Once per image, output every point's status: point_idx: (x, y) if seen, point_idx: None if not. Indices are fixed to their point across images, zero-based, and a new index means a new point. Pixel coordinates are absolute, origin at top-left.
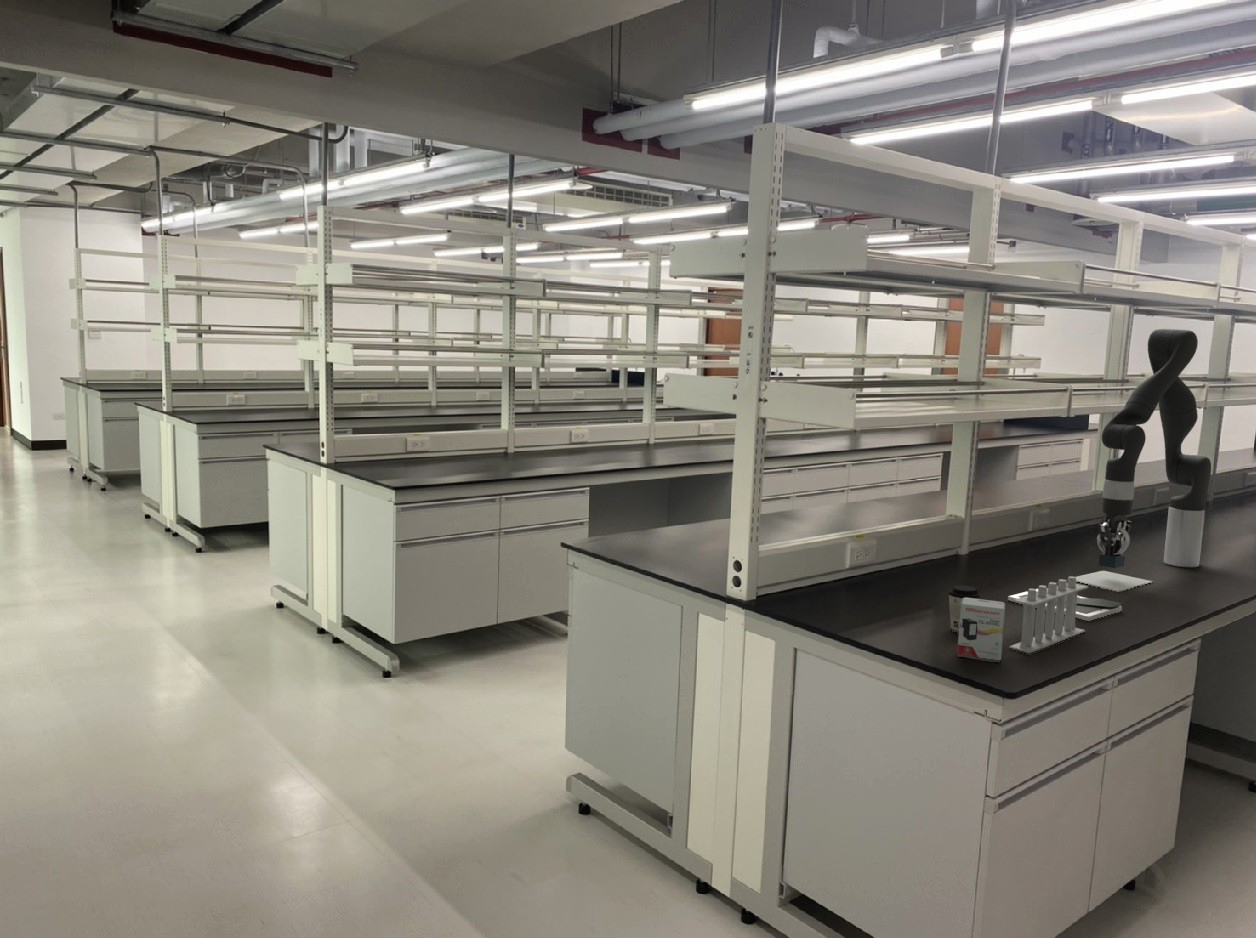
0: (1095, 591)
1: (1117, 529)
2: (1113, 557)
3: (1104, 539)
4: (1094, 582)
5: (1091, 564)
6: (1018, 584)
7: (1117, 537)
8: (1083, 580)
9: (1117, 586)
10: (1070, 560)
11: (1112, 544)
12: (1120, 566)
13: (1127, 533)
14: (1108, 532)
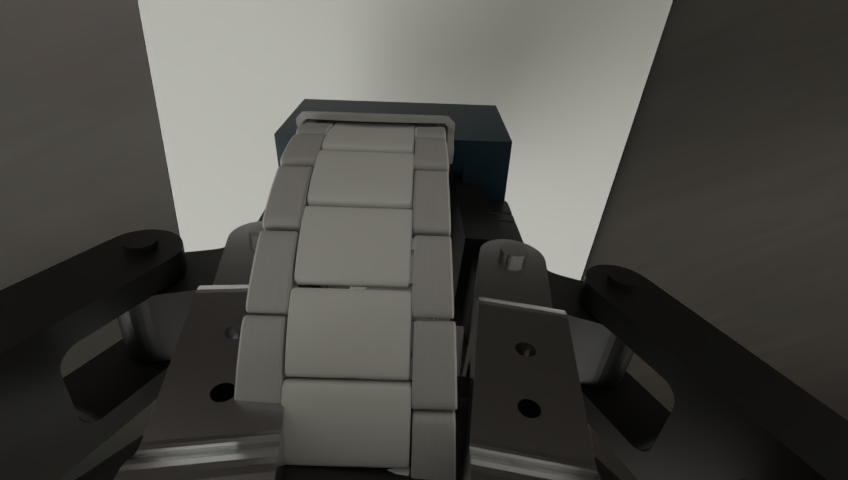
0: (759, 72)
1: (576, 434)
2: (507, 161)
3: (617, 375)
4: (559, 164)
5: (78, 362)
6: (829, 372)
7: (487, 297)
8: (555, 226)
9: (561, 8)
10: (117, 440)
11: (541, 259)
12: (374, 102)
13: (292, 244)
14: (839, 435)
